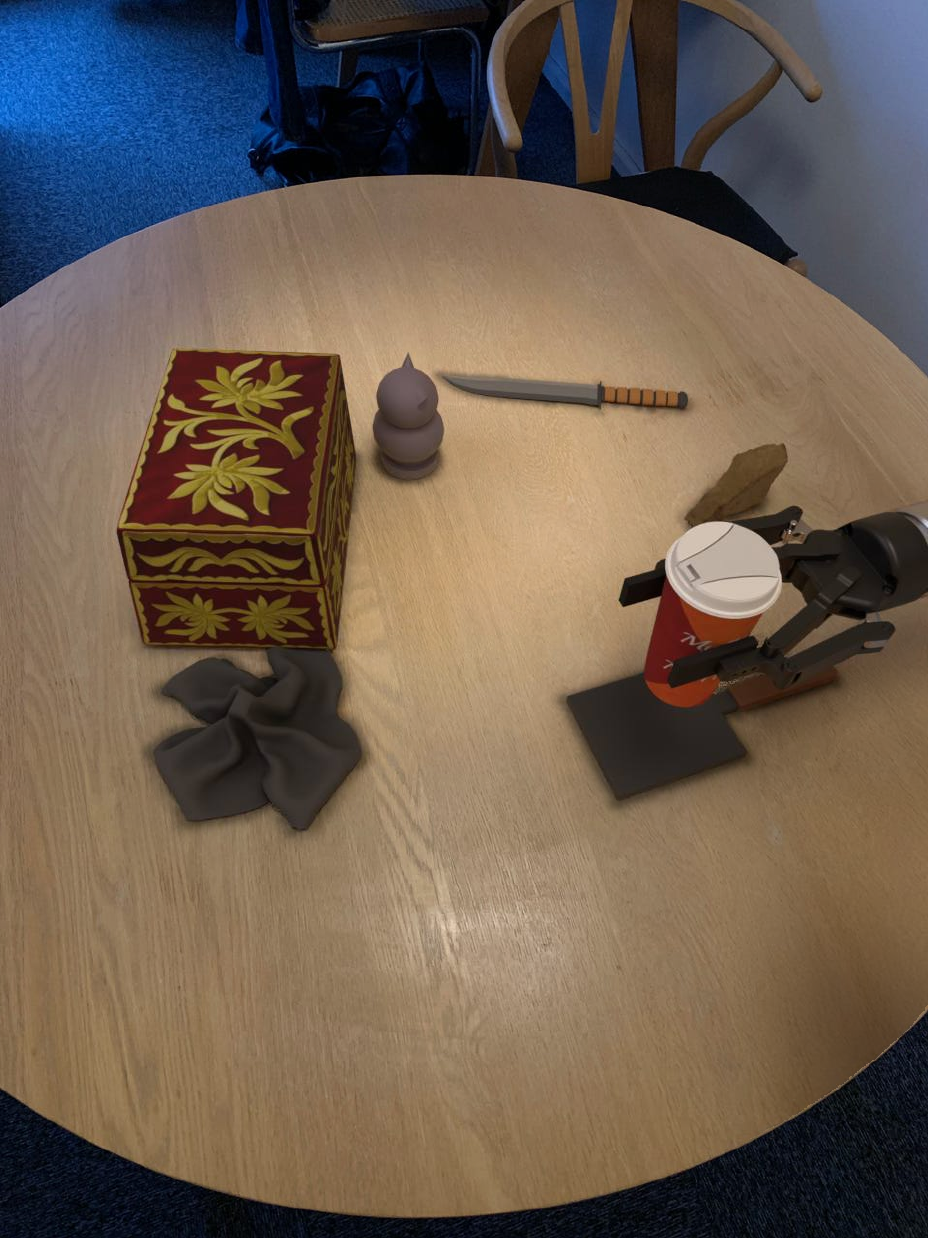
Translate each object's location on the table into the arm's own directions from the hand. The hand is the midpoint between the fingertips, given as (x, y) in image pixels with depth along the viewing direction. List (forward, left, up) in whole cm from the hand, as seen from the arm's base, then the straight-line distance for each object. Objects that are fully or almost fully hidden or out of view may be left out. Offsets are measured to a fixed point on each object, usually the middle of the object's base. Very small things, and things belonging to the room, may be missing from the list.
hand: (648, 632), depth 69 cm
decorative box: (+35, +23, -19) cm, 46 cm away
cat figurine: (+42, +4, -20) cm, 47 cm away
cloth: (+14, +28, -20) cm, 37 cm away
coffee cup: (0, -5, -9) cm, 10 cm away
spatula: (+1, -12, -19) cm, 23 cm away
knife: (+47, -17, -20) cm, 54 cm away
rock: (+24, -27, -20) cm, 41 cm away
